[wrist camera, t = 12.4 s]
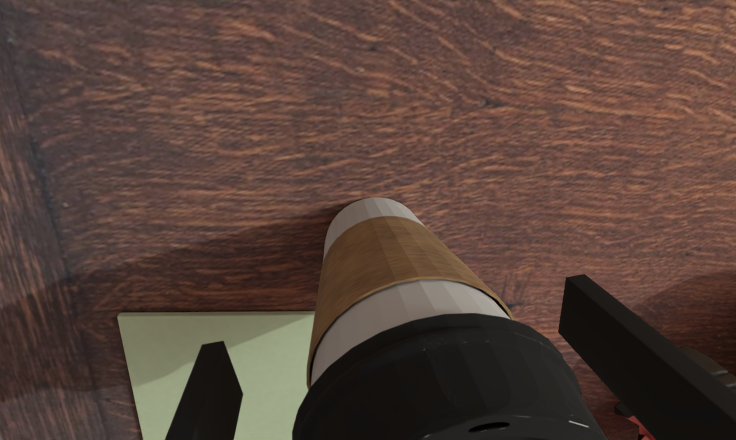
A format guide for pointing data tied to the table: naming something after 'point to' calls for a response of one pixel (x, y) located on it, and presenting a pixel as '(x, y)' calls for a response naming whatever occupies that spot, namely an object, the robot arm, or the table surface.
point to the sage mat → (248, 356)
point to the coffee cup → (424, 345)
